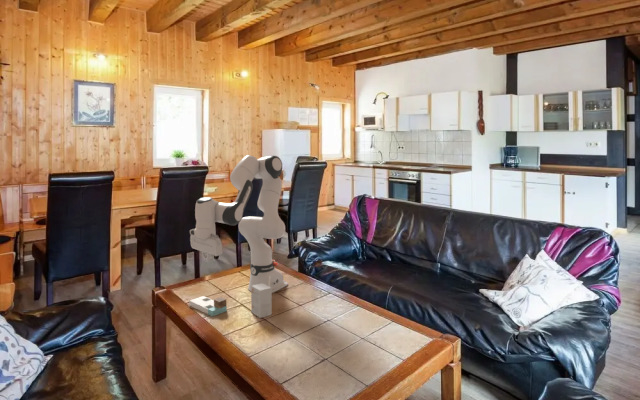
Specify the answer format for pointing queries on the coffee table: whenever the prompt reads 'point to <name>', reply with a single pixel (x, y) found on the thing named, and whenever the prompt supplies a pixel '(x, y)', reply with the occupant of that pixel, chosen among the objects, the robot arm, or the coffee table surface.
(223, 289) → the coffee table surface
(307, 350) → the coffee table surface
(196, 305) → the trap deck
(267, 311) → the small box
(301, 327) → the coffee table surface
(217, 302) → the block
